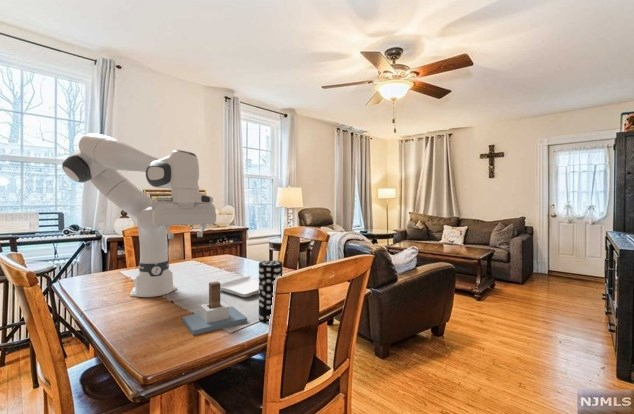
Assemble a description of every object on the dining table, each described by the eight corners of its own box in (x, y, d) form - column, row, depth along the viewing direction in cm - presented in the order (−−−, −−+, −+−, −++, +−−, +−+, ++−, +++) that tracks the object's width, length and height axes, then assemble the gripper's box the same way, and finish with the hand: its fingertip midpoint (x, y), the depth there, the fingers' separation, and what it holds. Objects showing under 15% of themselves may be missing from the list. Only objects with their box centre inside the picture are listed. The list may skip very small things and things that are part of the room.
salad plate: (244, 301, 130) (244, 293, 129) (214, 292, 142) (214, 284, 142) (279, 289, 146) (279, 282, 146) (249, 282, 159) (249, 275, 159)
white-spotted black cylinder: (261, 314, 114) (261, 260, 114) (283, 314, 114) (284, 260, 114) (256, 323, 106) (256, 265, 106) (280, 323, 106) (280, 265, 105)
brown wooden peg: (209, 316, 108) (208, 282, 108) (217, 315, 110) (217, 281, 109) (211, 319, 105) (211, 284, 105) (220, 317, 107) (220, 283, 107)
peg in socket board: (182, 320, 108) (182, 305, 108) (232, 310, 119) (232, 295, 118) (192, 335, 97) (192, 317, 97) (247, 322, 107) (247, 306, 107)
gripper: (153, 197, 98) (153, 241, 98) (217, 197, 110) (217, 236, 110) (150, 197, 103) (150, 238, 103) (212, 197, 115) (212, 235, 115)
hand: (185, 237), depth 107 cm, fingers open, 8 cm apart
